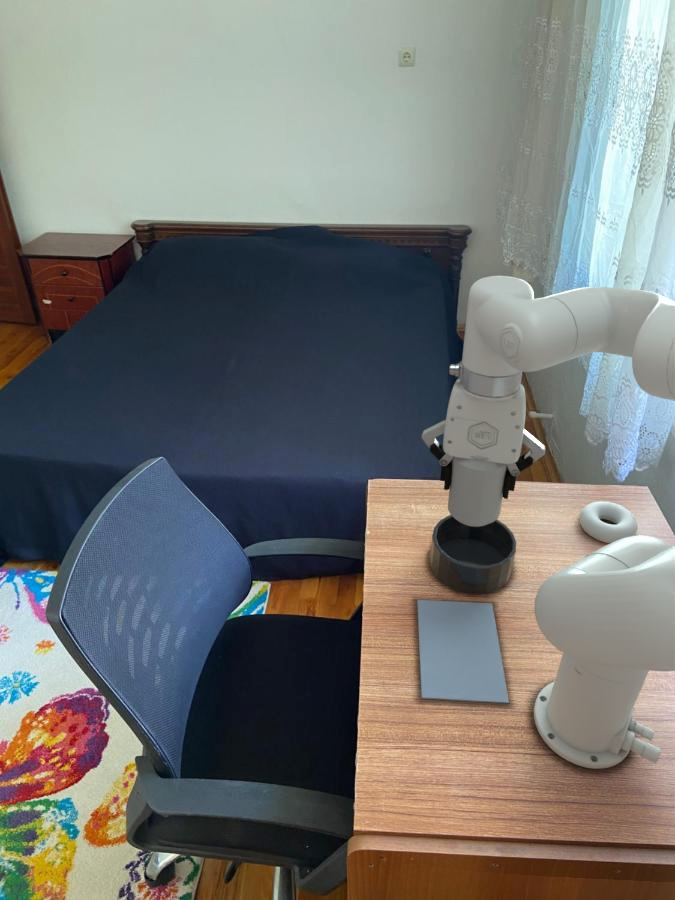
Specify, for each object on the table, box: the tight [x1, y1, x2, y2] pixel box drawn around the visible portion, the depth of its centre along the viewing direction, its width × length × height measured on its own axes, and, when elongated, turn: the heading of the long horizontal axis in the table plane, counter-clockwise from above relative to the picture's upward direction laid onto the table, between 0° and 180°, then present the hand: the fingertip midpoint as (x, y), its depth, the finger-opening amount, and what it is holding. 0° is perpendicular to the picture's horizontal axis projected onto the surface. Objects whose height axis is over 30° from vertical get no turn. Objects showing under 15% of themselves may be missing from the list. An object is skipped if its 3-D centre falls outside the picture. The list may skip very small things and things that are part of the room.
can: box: [447, 456, 507, 527], centre depth 90 cm, size 8×8×12 cm
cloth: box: [416, 599, 510, 705], centre depth 96 cm, size 18×12×1 cm, turn 176°
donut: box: [579, 500, 638, 544], centre depth 118 cm, size 10×4×10 cm
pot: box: [429, 514, 517, 595], centre depth 109 cm, size 14×14×6 cm
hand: (476, 488), depth 91 cm, fingers closed on can, 7 cm apart
